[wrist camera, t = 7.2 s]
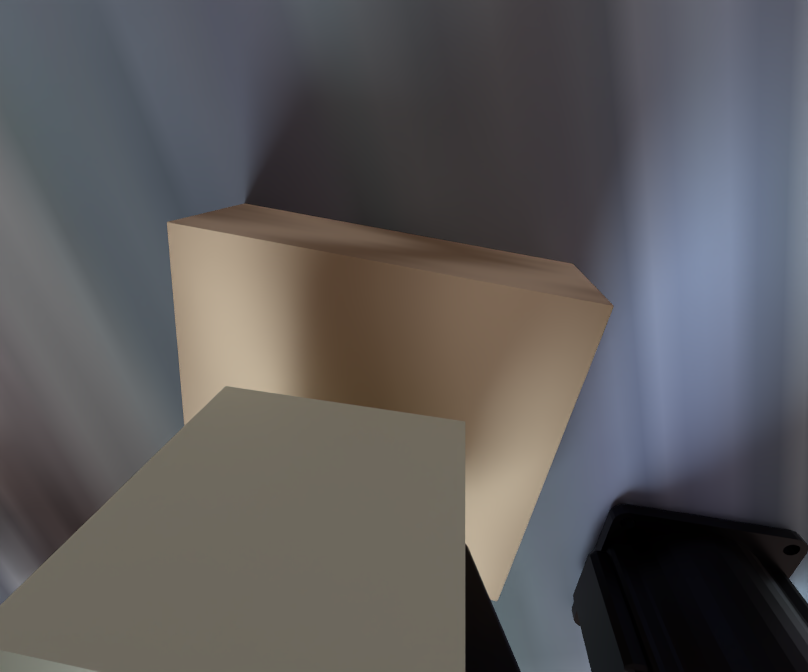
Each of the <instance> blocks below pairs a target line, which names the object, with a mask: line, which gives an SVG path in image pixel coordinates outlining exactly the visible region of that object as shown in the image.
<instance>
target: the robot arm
mask: <svg viewBox="0 0 808 672" xmlns="http://www.w3.org/2000/svg"><path fill="white" fill-rule="evenodd" d="M624 518H628V519H625V520H622V519H624ZM807 552H808V545H807V543H806V542H805V541H804V540H803V539H802V538H801V537H800V535H799V534H797V533H796V532H794V531H791V530H786V529H779V528H773V527H767V526H761V525H754V524H748V523H742V522H735V521H729V520H723V519H716V518H710V517H704V516H697V515H691V514H685V513H678V512H672V511H666V510H659V509H653V508H647V507H640V506H634V505H628V504H621V505H617V506H615V507H613V508H612V509H611V510H610V512H609V514H608V516H607V519H606V522H605V524H604V527H603V529H602V532H601V534H600V537H599V539H598V542H597V545H596V547H595V550H593V551H592V552H591V553H590V554H589V555H588V558H587V560H586V563H585V566H584V568H583V571H582V573H581V576H580V579H579V581H578V584H577V586H576V589H575V592H574V595H573V597H574V604H573V606H572V614H573V618H574V621H575V623H576V624H578V625H579V626H581V630H582V634H583V638H584V643H585V647H586V651H587V655H588V659H589V663H590V667H591V671H592V672H808V603H807V602H806V601H805V599H804V598H803V597H802V595H801V594H800V593H799V591H798V590H797V589H796V587H795V586H794V585H793V584H792V582H791V581H790V580H789V578H790V576H791V575H792V574H793V572H794V571H795V569H796V568H797V566H798V565H799V564H800V562H801V561H802V559H803V558H804V556H805V555H806V554H807ZM465 672H521V671H520V669H519V667H518V664H517V662H516V659H515V657H514V655H513V652H512V650H511V648H510V645H509V643H508V640H507V638H506V636H505V633H504V631H503V629H502V626H501V624H500V621H499V619H498V617H497V614H496V612H495V610H494V607H493V605H492V602H491V600H490V598H489V595H488V593H487V591H486V588H485V586H484V583H483V581H482V579H481V576H480V574H479V572H478V569H477V567H476V564H475V562H474V560H473V557H472V555H471V553H470V550H469V548H468V546H467V545H466V544H465Z"/></svg>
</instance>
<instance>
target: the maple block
mask: <svg viewBox="0 0 808 672" xmlns="http://www.w3.org/2000/svg"><path fill="white" fill-rule="evenodd" d="M167 228H168V240H169V251H170V263H171V275H172V286H173V298H174V309H175V321H176V333H177V344H178V356H179V367H180V379H181V391H182V402H183V414H184V426H185V425H186V424H187V423H188V422H189V421H190V420H191V419H192V418H193V417H194V416H195V415H196V414H197V413H198V412H199V411H200V410H201V409H202V408H203V407H204V406H205V405H207V404H208V403H209V402H210V401H211V400H212V399H213V398H214V397H215V396H216V395H217V394H218V393H219V392H220V391H221V390H222V389H223V388H224V387H225V386H229V387H235V388H242V389H249V390H256V391H263V392H269V393H276V394H283V395H290V396H296V397H303V398H310V399H317V400H324V401H330V402H337V403H344V404H351V405H357V406H364V407H371V408H378V409H385V410H391V411H398V412H405V413H412V414H418V415H425V416H432V417H439V418H446V419H452V420H459V421H465V544H466V545H467V546H468V548H469V550H470V553H471V555H472V557H473V560H474V562H475V564H476V567H477V569H478V572H479V574H480V576H481V579H482V581H483V583H484V586H485V588H486V591H487V593H488V595H489V598H490V600H494V601H498V598H499V596H500V593H501V591H502V588H503V586H504V583H505V581H506V578H507V576H508V573H509V570H510V568H511V565H512V563H513V560H514V558H515V555H516V553H517V550H518V548H519V545H520V543H521V540H522V537H523V535H524V532H525V530H526V527H527V525H528V522H529V520H530V517H531V515H532V512H533V510H534V507H535V505H536V502H537V499H538V497H539V494H540V492H541V489H542V487H543V484H544V482H545V479H546V477H547V474H548V472H549V469H550V466H551V464H552V461H553V459H554V456H555V454H556V451H557V449H558V446H559V444H560V441H561V439H562V436H563V434H564V431H565V428H566V426H567V423H568V421H569V418H570V416H571V413H572V411H573V408H574V406H575V403H576V401H577V398H578V395H579V393H580V390H581V388H582V385H583V383H584V380H585V378H586V375H587V373H588V370H589V368H590V365H591V363H592V360H593V357H594V355H595V352H596V350H597V347H598V345H599V342H600V340H601V337H602V335H603V332H604V330H605V327H606V324H607V322H608V319H609V317H610V314H611V312H612V309H613V307H614V306H613V305H612V304H611V303H610V302H609V301H608V300H607V298H606V297H605V296H604V295H603V294H602V293H601V292H600V291H599V290H598V289H597V288H596V287H595V286H594V285H593V284H592V283H591V282H590V281H589V280H588V279H587V278H586V277H585V276H584V275H583V274H582V273H581V272H580V271H579V269H578V268H577V267H576V266H575V265H574V264H571V263H566V262H561V261H555V260H550V259H544V258H539V257H533V256H528V255H522V254H517V253H512V252H506V251H501V250H495V249H490V248H484V247H479V246H473V245H468V244H463V243H457V242H452V241H446V240H441V239H435V238H430V237H424V236H419V235H414V234H408V233H403V232H397V231H392V230H386V229H381V228H375V227H370V226H365V225H359V224H354V223H348V222H343V221H337V220H332V219H326V218H321V217H316V216H310V215H305V214H299V213H294V212H288V211H283V210H277V209H272V208H267V207H261V206H256V205H250V204H240V205H236V206H232V207H228V208H224V209H220V210H215V211H211V212H207V213H203V214H199V215H195V216H190V217H186V218H182V219H178V220H174V221H169V222H167Z"/></svg>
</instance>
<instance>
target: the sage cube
mask: <svg viewBox="0 0 808 672" xmlns="http://www.w3.org/2000/svg"><path fill="white" fill-rule="evenodd" d="M0 672H465V421H459V420H452V419H446V418H439V417H432V416H425V415H418V414H412V413H405V412H398V411H391V410H385V409H378V408H371V407H364V406H357V405H351V404H344V403H337V402H330V401H324V400H317V399H310V398H303V397H296V396H290V395H283V394H276V393H269V392H263V391H256V390H249V389H242V388H235V387H229V386H225V387H224V388H223V389H222V390H221V391H220V392H219V393H218V394H217V395H216V396H215V397H214V398H213V399H212V400H211V401H210V402H209V403H208V404H207V405H205V406H204V407H203V408H202V409H201V410H200V411H199V412H198V413H197V414H196V415H195V416H194V417H193V418H192V419H191V420H190V421H189V422H188V423H187V424H186V425H185V426H184V427H183V428H182V429H181V430H180V431H179V432H178V433H177V434H176V435H175V436H174V437H173V438H172V439H171V440H170V441H169V442H167V443H166V444H165V445H164V446H163V447H162V448H161V449H160V450H159V451H158V452H157V453H156V454H155V455H154V456H153V457H152V458H151V459H150V460H149V461H148V462H147V463H146V464H145V465H144V466H143V467H142V468H141V469H140V470H139V471H138V472H137V473H136V474H135V475H134V476H133V477H132V478H131V479H130V480H128V481H127V482H126V483H125V484H124V485H123V486H122V487H121V488H120V489H119V490H118V491H117V492H116V493H115V494H114V495H113V496H112V497H111V498H110V499H109V500H108V501H107V502H106V503H105V504H104V505H103V506H102V507H101V508H100V509H99V510H98V511H97V512H96V513H95V514H94V515H93V516H92V517H90V518H89V519H88V520H87V521H86V522H85V523H84V524H83V525H82V526H81V527H80V528H79V529H78V530H77V531H76V532H75V533H74V534H73V535H72V536H71V537H70V538H69V539H68V540H67V541H66V542H65V543H64V544H63V545H62V546H61V547H60V548H59V549H58V550H57V551H56V552H55V553H54V554H52V555H51V556H50V557H49V558H48V559H47V560H46V561H45V562H44V563H43V564H42V565H41V566H40V567H39V568H38V569H37V570H36V571H35V572H34V573H33V574H32V575H31V576H30V577H29V578H28V579H27V580H26V581H25V582H24V583H23V584H22V585H21V586H20V587H19V588H18V589H17V590H16V591H15V592H13V593H12V594H11V595H10V596H9V597H8V598H7V599H6V600H5V601H4V602H3V603H2V604H1V605H0Z"/></svg>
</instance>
